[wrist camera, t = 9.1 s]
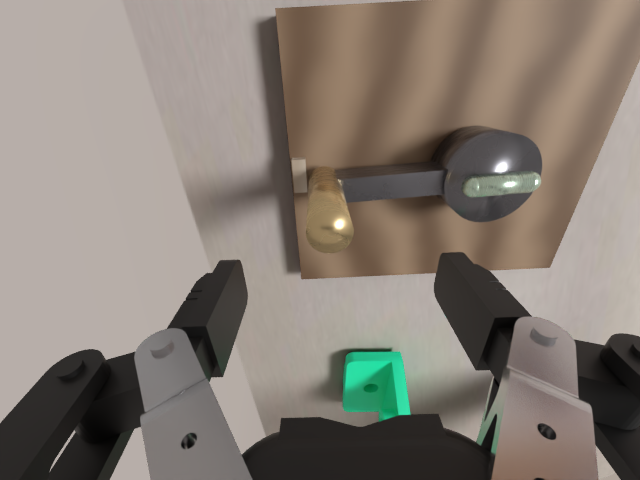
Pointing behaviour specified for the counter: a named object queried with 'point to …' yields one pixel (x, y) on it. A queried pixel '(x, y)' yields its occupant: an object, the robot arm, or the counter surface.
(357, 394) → the camera mount
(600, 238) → the counter surface
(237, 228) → the counter surface
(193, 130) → the counter surface
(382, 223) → the walnut base
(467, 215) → the crank handle
